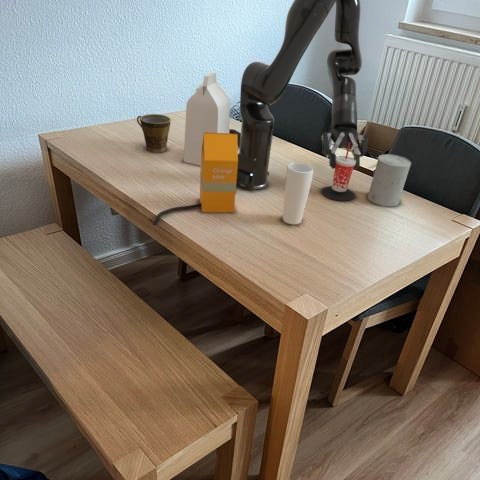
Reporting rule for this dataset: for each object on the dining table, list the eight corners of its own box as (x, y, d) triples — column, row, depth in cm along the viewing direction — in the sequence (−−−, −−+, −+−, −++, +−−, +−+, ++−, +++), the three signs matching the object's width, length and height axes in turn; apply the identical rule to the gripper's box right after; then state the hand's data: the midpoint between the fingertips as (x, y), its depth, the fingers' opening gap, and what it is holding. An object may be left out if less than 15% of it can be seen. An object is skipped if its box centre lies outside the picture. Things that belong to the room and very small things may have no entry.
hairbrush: (233, 122, 183) (272, 141, 167) (233, 132, 185) (271, 151, 169) (215, 125, 179) (252, 143, 163) (215, 135, 182) (252, 154, 165)
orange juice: (233, 212, 131) (240, 139, 118) (201, 212, 129) (205, 137, 117) (229, 199, 137) (235, 128, 124) (199, 199, 135) (201, 127, 122)
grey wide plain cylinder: (363, 192, 149) (374, 153, 142) (392, 193, 150) (404, 155, 143) (372, 205, 142) (384, 165, 134) (403, 207, 143) (416, 167, 135)
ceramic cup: (176, 149, 164) (176, 119, 158) (157, 156, 157) (157, 125, 151) (148, 139, 169) (146, 110, 163) (128, 146, 162) (126, 116, 156)
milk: (216, 168, 154) (221, 81, 137) (183, 161, 156) (184, 74, 140) (228, 157, 163) (234, 73, 146) (197, 150, 165) (200, 67, 149)
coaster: (345, 204, 141) (345, 203, 141) (315, 193, 145) (316, 192, 145) (359, 194, 148) (359, 193, 147) (331, 184, 152) (331, 183, 152)
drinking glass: (306, 218, 132) (316, 165, 122) (300, 229, 127) (310, 174, 117) (283, 213, 133) (291, 160, 124) (276, 223, 128) (284, 169, 119)
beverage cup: (350, 193, 143) (362, 147, 134) (330, 191, 143) (340, 145, 134) (347, 185, 148) (358, 140, 139) (328, 183, 148) (337, 138, 139)
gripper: (324, 106, 138) (324, 161, 136) (372, 109, 139) (372, 164, 138) (317, 119, 145) (317, 172, 144) (363, 122, 147) (363, 174, 145)
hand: (344, 168), depth 141 cm, fingers closed on beverage cup, 6 cm apart
